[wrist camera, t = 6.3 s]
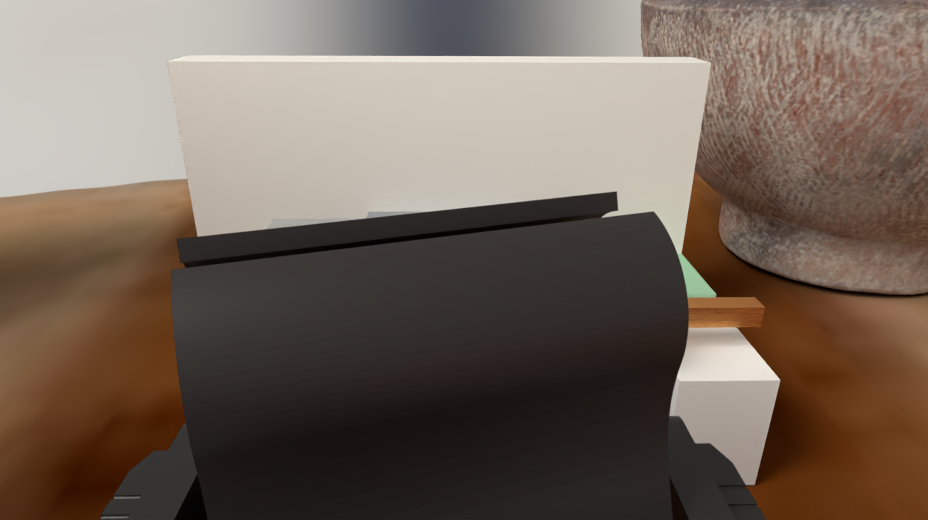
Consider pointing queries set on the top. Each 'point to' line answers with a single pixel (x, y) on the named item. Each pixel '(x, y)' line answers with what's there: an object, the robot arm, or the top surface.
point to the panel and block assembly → (470, 166)
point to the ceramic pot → (812, 132)
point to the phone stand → (434, 365)
